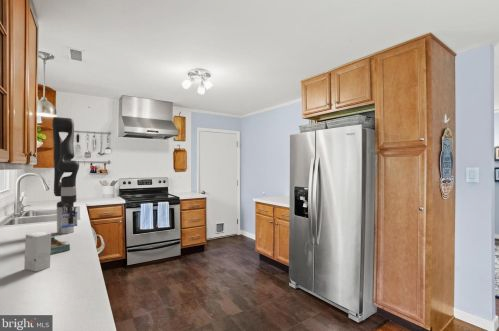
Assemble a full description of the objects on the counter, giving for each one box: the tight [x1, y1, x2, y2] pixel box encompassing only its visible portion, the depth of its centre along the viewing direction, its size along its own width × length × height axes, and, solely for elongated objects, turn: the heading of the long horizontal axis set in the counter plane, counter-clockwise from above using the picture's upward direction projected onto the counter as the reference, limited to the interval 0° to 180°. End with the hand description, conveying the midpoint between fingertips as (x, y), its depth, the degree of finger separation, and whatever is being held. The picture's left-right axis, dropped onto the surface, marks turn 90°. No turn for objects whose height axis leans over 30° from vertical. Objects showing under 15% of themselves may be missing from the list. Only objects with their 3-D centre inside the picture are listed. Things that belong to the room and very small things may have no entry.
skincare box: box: [23, 231, 52, 272], centre depth 114 cm, size 8×6×15 cm
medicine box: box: [60, 210, 78, 228], centre depth 156 cm, size 8×4×9 cm, turn 132°
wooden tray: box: [50, 236, 71, 255], centre depth 142 cm, size 24×9×3 cm, turn 53°
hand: (68, 223), depth 156 cm, fingers closed on medicine box, 5 cm apart
